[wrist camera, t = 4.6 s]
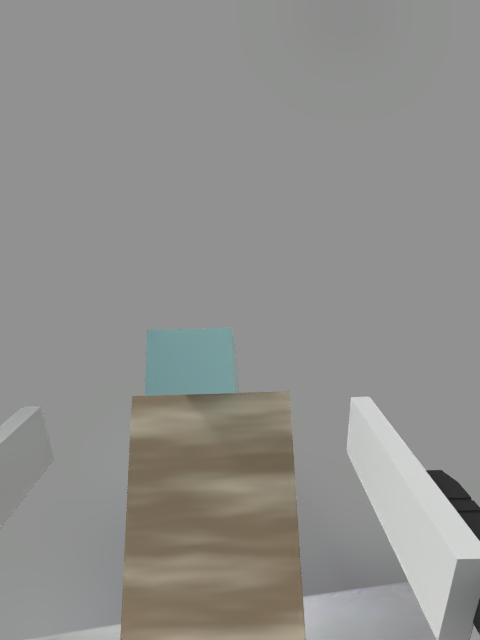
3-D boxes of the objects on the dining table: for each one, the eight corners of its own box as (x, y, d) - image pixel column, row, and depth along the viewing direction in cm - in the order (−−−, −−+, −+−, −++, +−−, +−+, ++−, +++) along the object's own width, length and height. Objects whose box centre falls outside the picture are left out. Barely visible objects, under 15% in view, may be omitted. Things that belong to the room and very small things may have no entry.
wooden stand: (326, 959, 17) (289, 391, 24) (104, 967, 17) (132, 396, 24) (291, 727, 28) (273, 391, 35) (160, 731, 28) (168, 395, 35)
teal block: (233, 393, 14) (232, 327, 15) (144, 395, 14) (147, 330, 15) (238, 393, 39) (238, 369, 40) (207, 393, 39) (207, 370, 40)
